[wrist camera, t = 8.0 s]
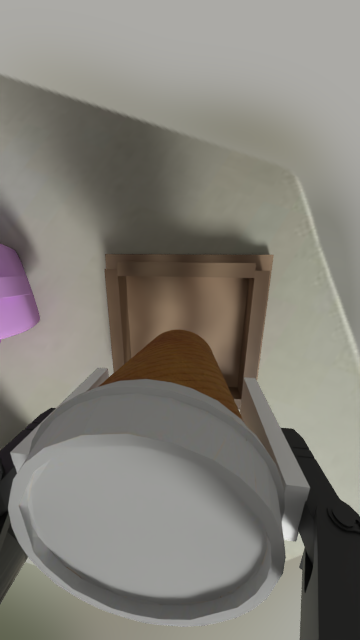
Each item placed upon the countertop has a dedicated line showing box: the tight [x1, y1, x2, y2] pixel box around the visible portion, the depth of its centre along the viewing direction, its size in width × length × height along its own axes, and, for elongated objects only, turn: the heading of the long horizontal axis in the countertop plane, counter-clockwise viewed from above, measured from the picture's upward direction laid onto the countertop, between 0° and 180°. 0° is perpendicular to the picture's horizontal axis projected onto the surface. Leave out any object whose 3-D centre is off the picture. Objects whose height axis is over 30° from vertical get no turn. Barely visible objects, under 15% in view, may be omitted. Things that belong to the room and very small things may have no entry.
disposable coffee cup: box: [8, 330, 285, 627], centre depth 12 cm, size 10×10×12 cm
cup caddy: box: [105, 254, 273, 409], centre depth 24 cm, size 20×20×4 cm
